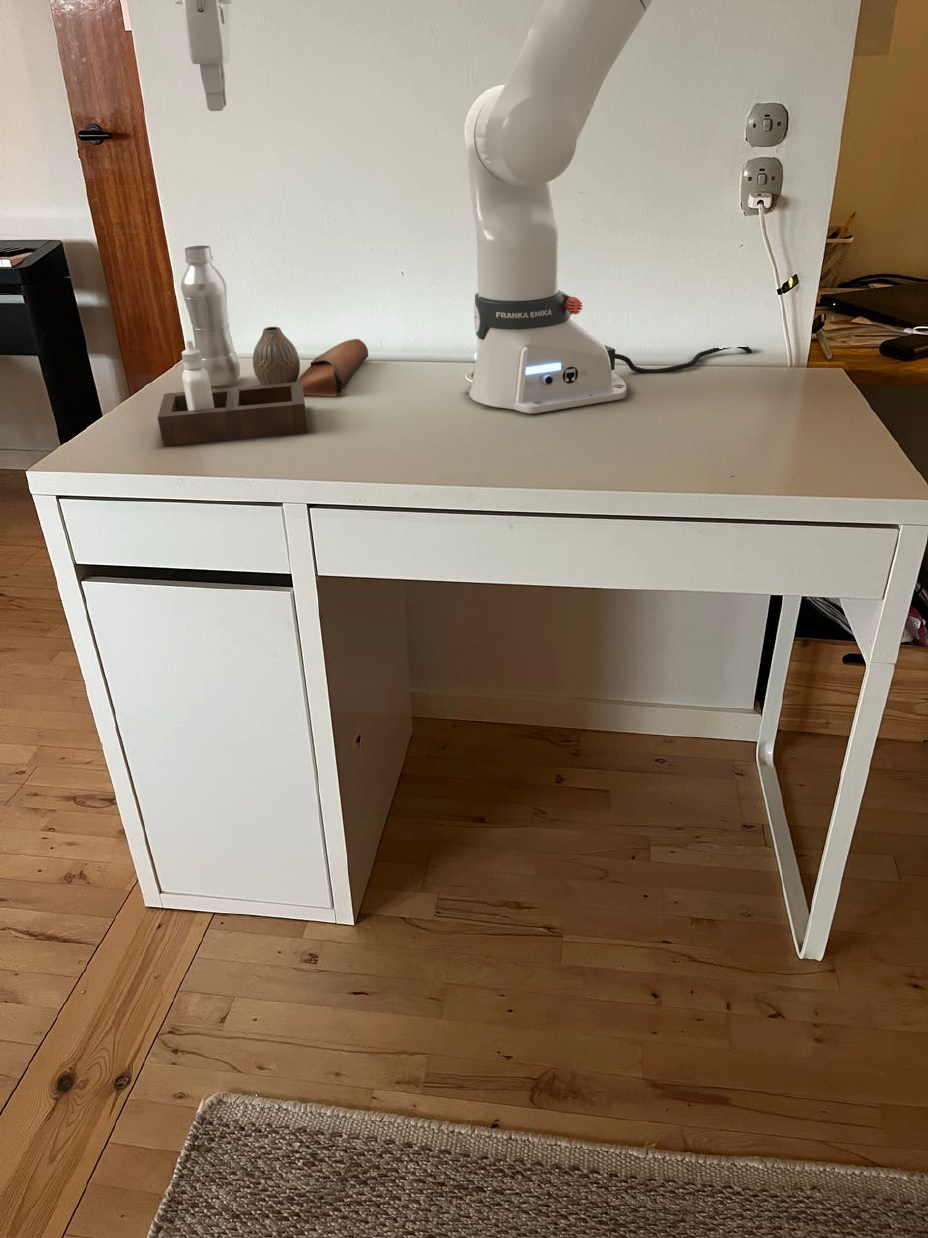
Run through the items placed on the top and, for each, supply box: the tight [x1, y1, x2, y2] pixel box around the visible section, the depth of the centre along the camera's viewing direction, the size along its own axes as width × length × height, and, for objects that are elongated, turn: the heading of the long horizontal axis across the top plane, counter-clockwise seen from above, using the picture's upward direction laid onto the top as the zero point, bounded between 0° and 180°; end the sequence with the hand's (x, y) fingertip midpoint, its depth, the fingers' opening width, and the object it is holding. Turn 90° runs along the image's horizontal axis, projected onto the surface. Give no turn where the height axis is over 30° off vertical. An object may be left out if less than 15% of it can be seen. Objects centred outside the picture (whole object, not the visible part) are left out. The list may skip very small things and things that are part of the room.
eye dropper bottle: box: [181, 339, 214, 411], centre depth 127 cm, size 4×6×12 cm
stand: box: [156, 381, 309, 447], centre depth 129 cm, size 19×10×4 cm, turn 100°
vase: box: [252, 326, 301, 385], centre depth 143 cm, size 7×7×9 cm
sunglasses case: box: [296, 338, 369, 398], centre depth 147 cm, size 18×7×7 cm, turn 173°
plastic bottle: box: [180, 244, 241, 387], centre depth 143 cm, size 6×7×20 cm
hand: (217, 108), depth 113 cm, fingers open, 8 cm apart
